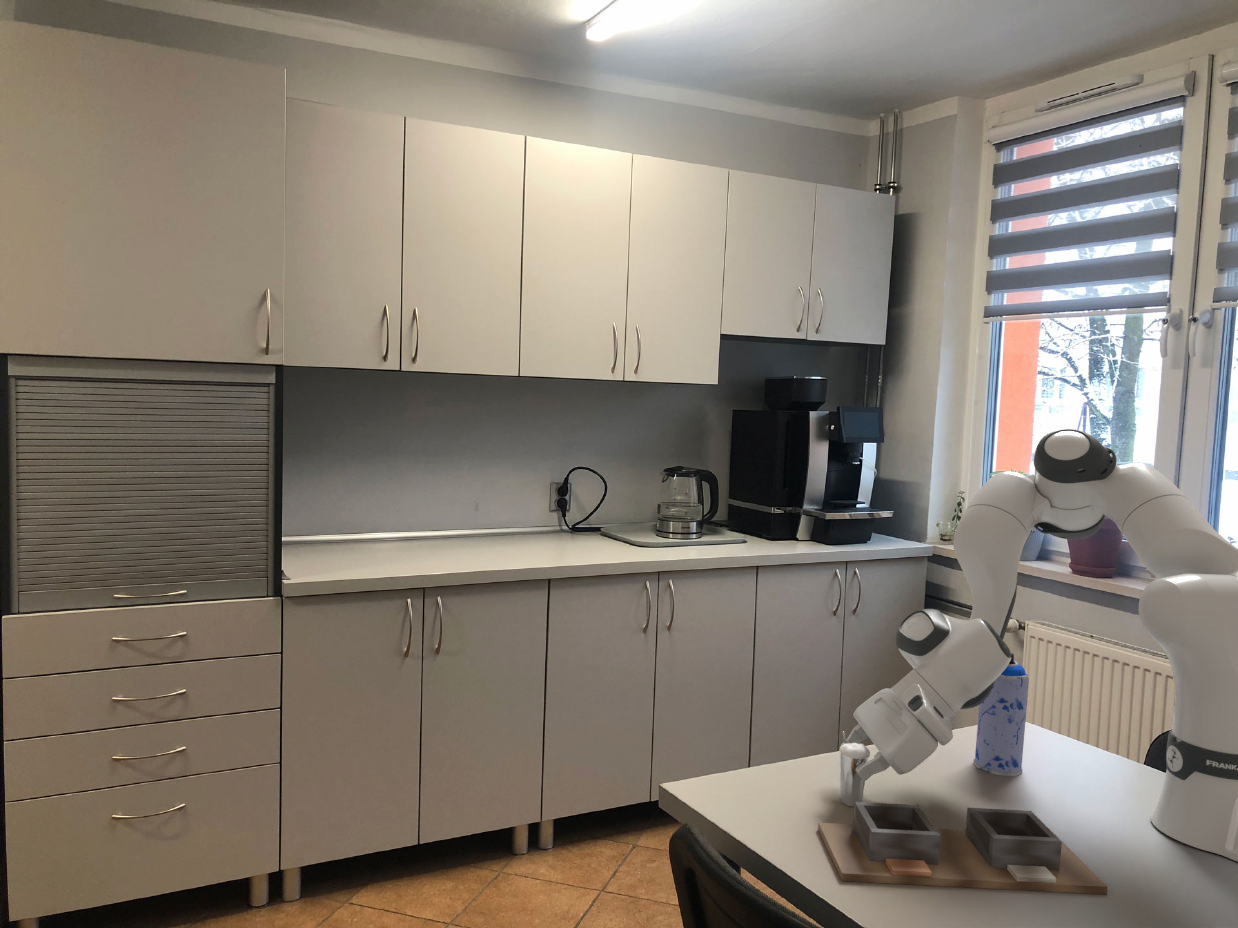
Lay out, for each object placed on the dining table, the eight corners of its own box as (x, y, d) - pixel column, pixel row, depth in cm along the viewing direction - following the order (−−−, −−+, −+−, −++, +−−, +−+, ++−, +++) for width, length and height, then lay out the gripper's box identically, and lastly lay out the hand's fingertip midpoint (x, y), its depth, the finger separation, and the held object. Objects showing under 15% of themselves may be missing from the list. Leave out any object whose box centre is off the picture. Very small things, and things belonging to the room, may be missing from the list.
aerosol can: (1005, 757, 162) (1014, 647, 160) (1032, 775, 154) (1041, 660, 152) (964, 758, 160) (973, 646, 159) (989, 776, 153) (998, 659, 151)
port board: (1054, 841, 130) (1057, 807, 130) (1106, 894, 116) (1110, 856, 116) (818, 829, 130) (820, 795, 130) (841, 880, 116) (844, 842, 116)
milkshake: (851, 792, 143) (855, 730, 143) (872, 806, 138) (877, 743, 138) (826, 795, 142) (831, 732, 141) (847, 810, 137) (851, 745, 136)
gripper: (886, 669, 149) (823, 723, 150) (928, 711, 129) (854, 774, 130) (911, 696, 150) (848, 751, 150) (957, 743, 129) (883, 806, 130)
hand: (851, 762), depth 140 cm, fingers open, 8 cm apart
